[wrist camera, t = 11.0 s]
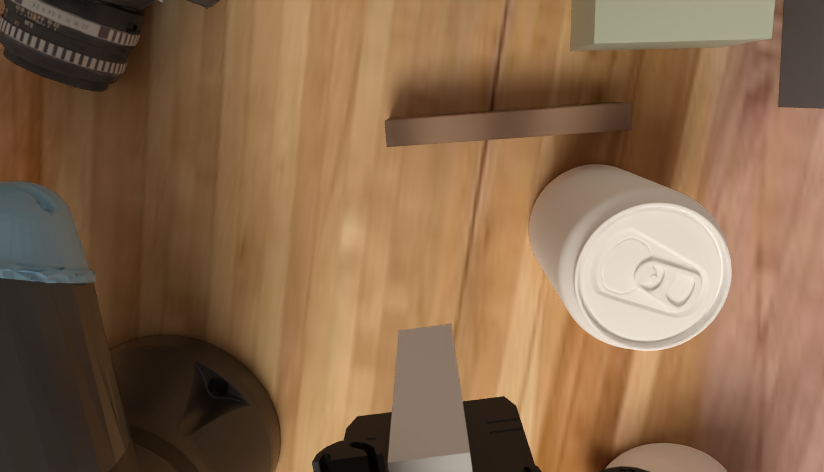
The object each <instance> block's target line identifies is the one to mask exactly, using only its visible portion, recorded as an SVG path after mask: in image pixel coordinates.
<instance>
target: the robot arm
mask: <svg viewBox="0 0 824 472" xmlns="http://www.w3.org/2000/svg"><path fill="white" fill-rule="evenodd" d="M94 282H96V275H95V272H94V271H93V270H91V269H90V268H89V266H88V263H87V260H86V257H85V254H84V251H83V248H82V245H81V242H80V239H79V236H78V232H77V229H76V226H75V223H74V220H73V217H72V214H71V211H70V209H69V207H68V206H67V204H66V203H65V201H64V200H63V199H62V198H61V197H60V196H59V195H58V194H57V193H55V192H54V191H52V190H51V189H49V188H47V187H45V186H43V185H40V184H37V183H32V182H26V181H7V182H0V472H275V469H276V467H277V463H278V459H279V453H280V429H279V424H278V419H277V415H276V412H275V409H274V407H273V405H272V402H271V400H270V398H269V396H268V394H267V393H266V391H265V389H264V388H263V386H262V385H261V384H260V382H259V381H258V380H257V379H256V377H255V376H254V375H253V374H252V373H251V372H250V371H249V370H248V369H247V368H246V367H245V366H244V365H243V364H242V363H240V362H239V361H238V360H237V359H235V358H234V357H232V356H231V355H229V354H228V353H226V352H224V351H223V350H221V349H219V348H217V347H215V346H213V345H210V344H208V343H205V342H202V341H199V340H196V339H192V338H187V337H182V336H173V335H156V336H147V337H142V338H138V339H134V340H131V341H128V342H125V343H123V344H121V345H119V346H117V347H115V348H113V349H111V350H110V349H109V345H108V341H107V337H106V334H105V330H104V326H103V322H102V317H101V313H100V309H99V304H98V300H97V296H96V292H95V287H94ZM312 465H313V470H314V472H541V470H540V469H539V468H538V466H536V465H535V464H534V461H533V457H532V454H531V451H530V448H529V445H528V442H527V439H526V435H525V432H524V430H523V426H522V423H521V420H520V417H519V413H518V410H517V407H516V405H514V404H513V403H512V402H511V401H509V400H508V399H507V398H505V397H504V396H503V397H495V398H487V399H479V400H471V401H462V394H461V387H460V380H459V374H458V367H457V360H456V353H455V346H454V339H453V333H452V326H451V324H446V325H438V326H431V327H423V328H415V329H408V330H400V331H399V332H398V344H397V357H396V369H395V381H394V393H393V405H392V412H389V413H381V414H373V415H365V416H357V417H356V418H355V420H354V421H353V422H352V423H351V424H350V425H349V426H348V427H347V429H346V433H345V437H344V441H339V442H336V443H334V444H332V445H330V446H327V447H326V448H324V449H323V450H322V451H320V452H319V453H318V454H317V455H316V456H315V458H314V460H313V461H312ZM600 472H650V471H646V470H643V469H640V468H637V467H626V466H619V467H612V468H607V469H604V470H602V471H600Z"/></svg>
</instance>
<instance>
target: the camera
mask: <svg viewBox="0 0 824 472" xmlns="http://www.w3.org/2000/svg"><path fill="white" fill-rule="evenodd" d="M154 1H156V0H4V3H5V4H6V5H5V10H4V14H1V17H0V29H1V31H0V42H1V43H2V44H3V45H4V46H5V48H4V56H5V57H6V58H7V59H8V60H10V61H12V62H13V63H15V64H16V65H18V66H21V67H23V68H25V69H27V70H29V71H31V72H33V73H36V74H38V75H40V76H43V77H45V78H48V79H51V80H54V81H57V82H60V83H63V84H67V85H70V86H73V87H77V88H81V89H86V90H90V91H105V90H107V87H108V84H112V83H115V82H116V81H117V79H118V77H119V74H121V73H124V72H125V69H126V66H127V63H128V62H127V57H128V54H129V52H132V49H133V46H136V45H137V43H138V41H139V38H140V34H139V29H140V26H141V23H142V20H143V15H144V14H142V13H141V12H139V11H141V10H142V9H144V8H146V7H147V6H149V5H150V4H151V3H153V2H154ZM159 1H160V2H162V3H163V1H164V0H159ZM187 1H190V2H193V3H196V4H199V5H201V6H204V7H206V8H209V7H211V6H213V5H214V4H215V3H217V2H218V1H219V0H187Z"/></svg>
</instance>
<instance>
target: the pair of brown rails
mask: <svg viewBox="0 0 824 472" xmlns="http://www.w3.org/2000/svg"><path fill="white" fill-rule="evenodd" d="M385 130H386V142H387V147H394V146H408V145H422V144H436V143H451V142H465V141H479V140H493V139H508V138H522V137H536V136H550V135H565V134H579V133H593V132H607V131H622V130H632V103H623V102H610V103H596V104H582V105H568V106H555V107H541V108H527V109H513V110H500V111H486V112H472V113H458V114H444V115H431V116H417V117H403V118H389V119H387V120H385Z"/></svg>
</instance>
